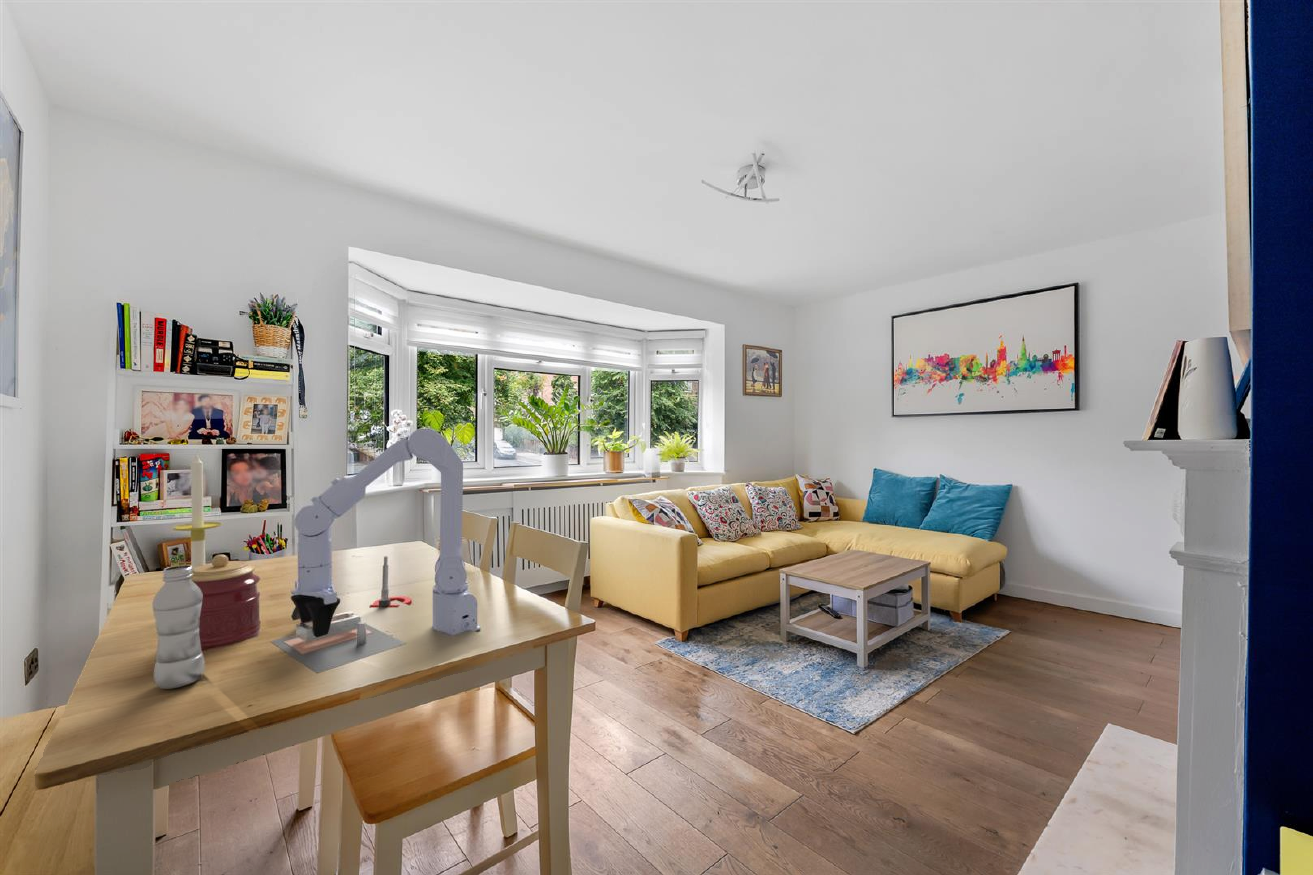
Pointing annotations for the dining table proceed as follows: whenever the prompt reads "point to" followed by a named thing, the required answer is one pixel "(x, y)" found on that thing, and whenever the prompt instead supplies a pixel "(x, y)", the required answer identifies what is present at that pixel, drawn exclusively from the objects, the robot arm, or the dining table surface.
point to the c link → (338, 626)
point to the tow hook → (386, 600)
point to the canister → (227, 602)
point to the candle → (197, 516)
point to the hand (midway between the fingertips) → (315, 631)
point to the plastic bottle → (178, 629)
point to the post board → (338, 647)
